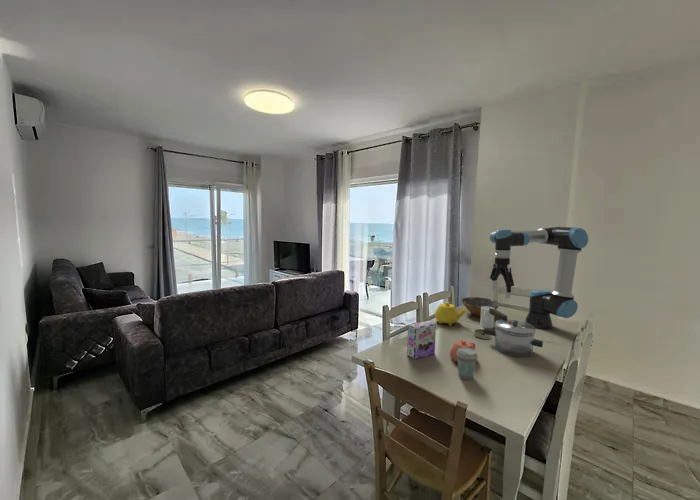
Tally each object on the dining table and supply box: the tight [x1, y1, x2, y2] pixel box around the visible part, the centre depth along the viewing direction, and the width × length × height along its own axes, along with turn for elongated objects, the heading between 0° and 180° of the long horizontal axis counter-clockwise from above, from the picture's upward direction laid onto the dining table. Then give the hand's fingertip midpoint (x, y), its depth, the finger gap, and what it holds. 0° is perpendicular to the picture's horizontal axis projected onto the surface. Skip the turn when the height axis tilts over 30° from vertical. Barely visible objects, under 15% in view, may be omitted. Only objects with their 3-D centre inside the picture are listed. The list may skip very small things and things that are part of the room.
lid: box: [489, 308, 537, 334], centre depth 167 cm, size 32×19×4 cm, turn 4°
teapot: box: [434, 301, 467, 327], centre depth 201 cm, size 20×16×14 cm
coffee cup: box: [456, 347, 478, 381], centre depth 133 cm, size 8×9×12 cm
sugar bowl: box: [449, 339, 476, 363], centre depth 149 cm, size 12×14×10 cm
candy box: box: [406, 320, 437, 360], centre depth 154 cm, size 14×6×16 cm, turn 117°
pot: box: [483, 325, 544, 358], centre depth 161 cm, size 28×19×12 cm, turn 49°
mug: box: [479, 306, 495, 329], centre depth 195 cm, size 12×8×12 cm
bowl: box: [460, 296, 500, 318], centre depth 218 cm, size 25×25×10 cm
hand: (500, 294), depth 170 cm, fingers open, 13 cm apart
